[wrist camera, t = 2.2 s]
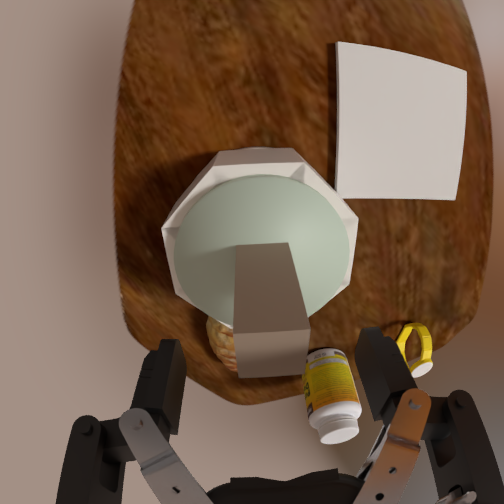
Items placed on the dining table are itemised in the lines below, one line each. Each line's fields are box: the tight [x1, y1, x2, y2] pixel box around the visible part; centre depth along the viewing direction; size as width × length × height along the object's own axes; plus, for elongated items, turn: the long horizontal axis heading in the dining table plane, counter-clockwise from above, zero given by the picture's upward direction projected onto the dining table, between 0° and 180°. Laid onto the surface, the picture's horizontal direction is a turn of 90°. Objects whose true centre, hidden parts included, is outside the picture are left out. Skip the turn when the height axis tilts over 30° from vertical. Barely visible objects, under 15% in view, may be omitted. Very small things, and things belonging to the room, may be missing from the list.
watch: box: [395, 323, 433, 377], centre depth 28 cm, size 6×3×6 cm, turn 174°
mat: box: [334, 42, 467, 200], centre depth 19 cm, size 12×12×1 cm
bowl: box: [161, 146, 358, 329], centre depth 21 cm, size 12×12×6 cm
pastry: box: [206, 316, 238, 372], centre depth 28 cm, size 9×7×4 cm
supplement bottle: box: [301, 348, 361, 444], centre depth 28 cm, size 6×6×10 cm
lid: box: [174, 174, 350, 378], centre depth 15 cm, size 11×11×8 cm
